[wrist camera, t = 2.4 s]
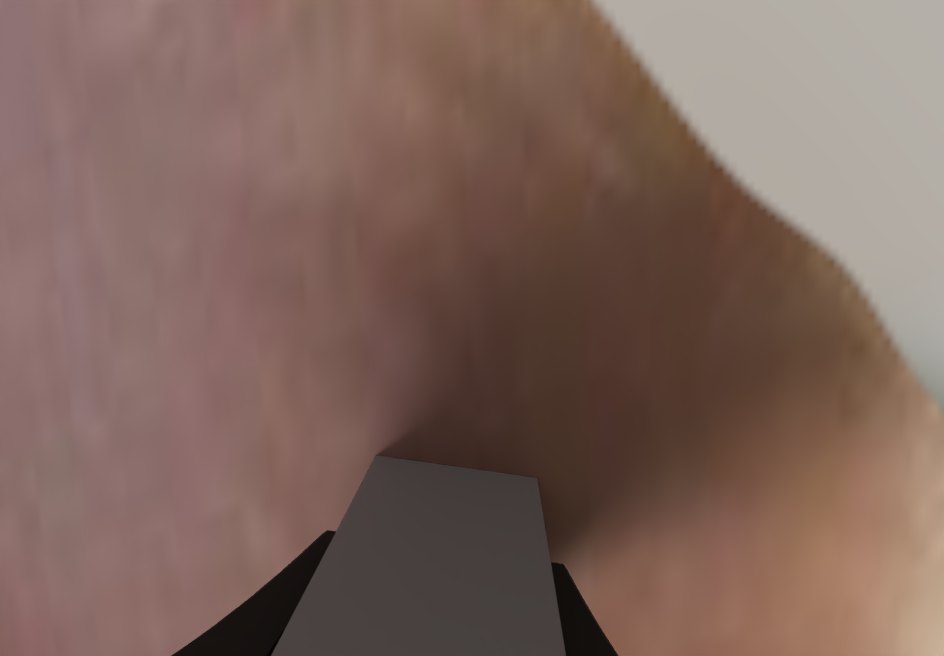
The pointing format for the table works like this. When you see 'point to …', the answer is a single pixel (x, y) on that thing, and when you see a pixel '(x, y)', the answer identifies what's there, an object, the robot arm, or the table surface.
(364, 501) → the block
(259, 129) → the table surface
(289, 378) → the table surface
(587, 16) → the table surface
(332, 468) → the table surface
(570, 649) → the robot arm
